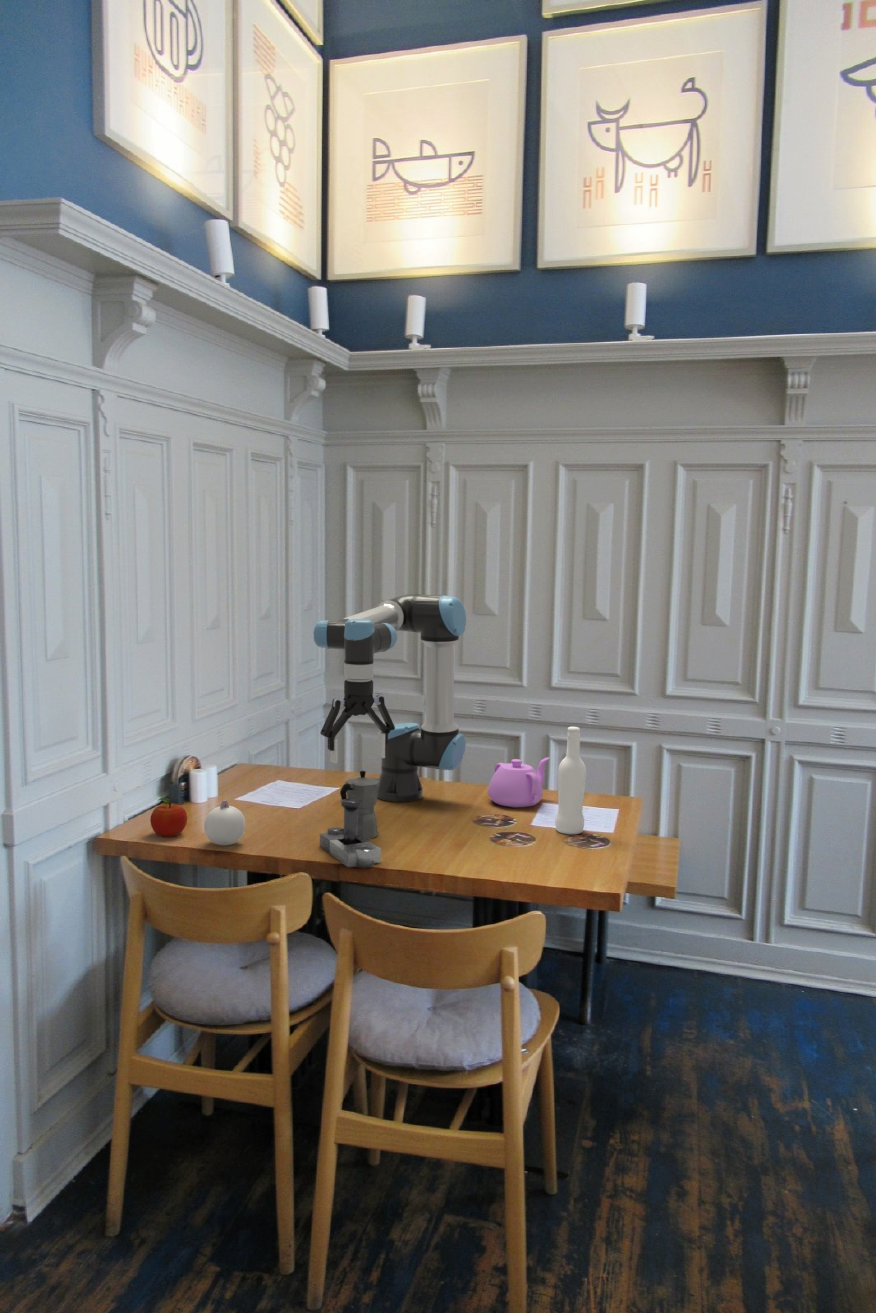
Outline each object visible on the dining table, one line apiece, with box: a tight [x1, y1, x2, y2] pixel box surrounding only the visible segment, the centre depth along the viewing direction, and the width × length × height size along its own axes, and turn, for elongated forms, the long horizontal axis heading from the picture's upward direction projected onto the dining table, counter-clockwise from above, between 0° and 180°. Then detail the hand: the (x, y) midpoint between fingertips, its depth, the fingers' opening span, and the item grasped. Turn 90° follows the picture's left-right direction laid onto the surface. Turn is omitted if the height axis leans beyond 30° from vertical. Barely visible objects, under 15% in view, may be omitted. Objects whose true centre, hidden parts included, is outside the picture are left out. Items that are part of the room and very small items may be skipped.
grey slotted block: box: [319, 826, 382, 869], centre depth 244 cm, size 9×22×4 cm, turn 30°
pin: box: [340, 798, 361, 845], centre depth 244 cm, size 5×5×14 cm
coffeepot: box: [339, 770, 380, 840], centre depth 259 cm, size 15×9×18 cm, turn 145°
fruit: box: [149, 797, 188, 838], centre depth 255 cm, size 10×10×10 cm
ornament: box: [203, 799, 246, 846], centre depth 249 cm, size 10×10×12 cm
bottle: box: [554, 726, 587, 835], centre depth 269 cm, size 8×8×30 cm
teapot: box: [487, 756, 551, 809], centre depth 299 cm, size 22×22×14 cm
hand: (358, 759), depth 248 cm, fingers open, 13 cm apart
